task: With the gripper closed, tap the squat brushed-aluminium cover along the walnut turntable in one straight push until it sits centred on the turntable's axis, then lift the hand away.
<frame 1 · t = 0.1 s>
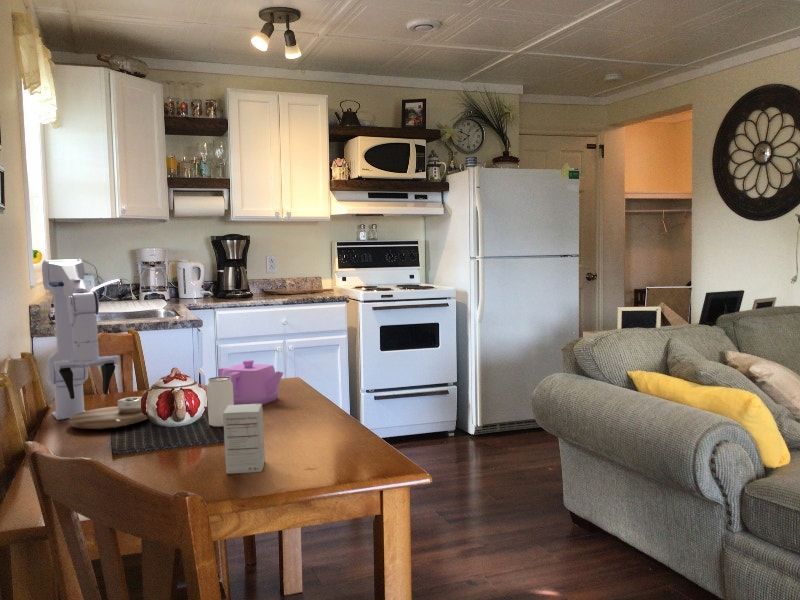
hand: (89, 396, 175), 10 cm above the table, tool pointing down, fingers open, 7 cm apart
teakettle: (252, 401, 211), on the table
supplement box: (246, 468, 147), on the table
turntable base: (111, 423, 188), on the table
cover: (132, 411, 191), point 2 cm above the table, touching turntable
can: (221, 424, 184), on the table
turntable: (110, 416, 188), point 2 cm above the table, hinge at 0.0°, touching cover
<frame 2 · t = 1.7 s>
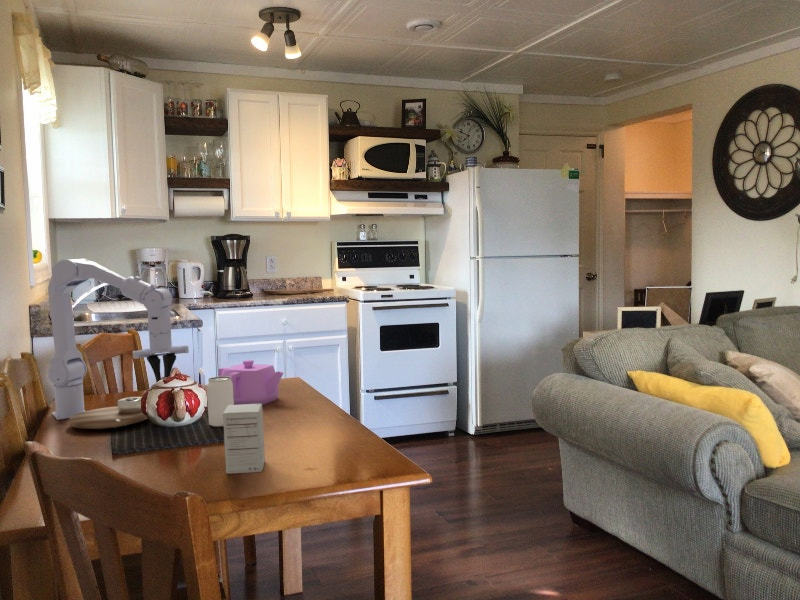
hand: (162, 381, 195), 9 cm above the table, tool pointing down, fingers closed
nothing on the table moved.
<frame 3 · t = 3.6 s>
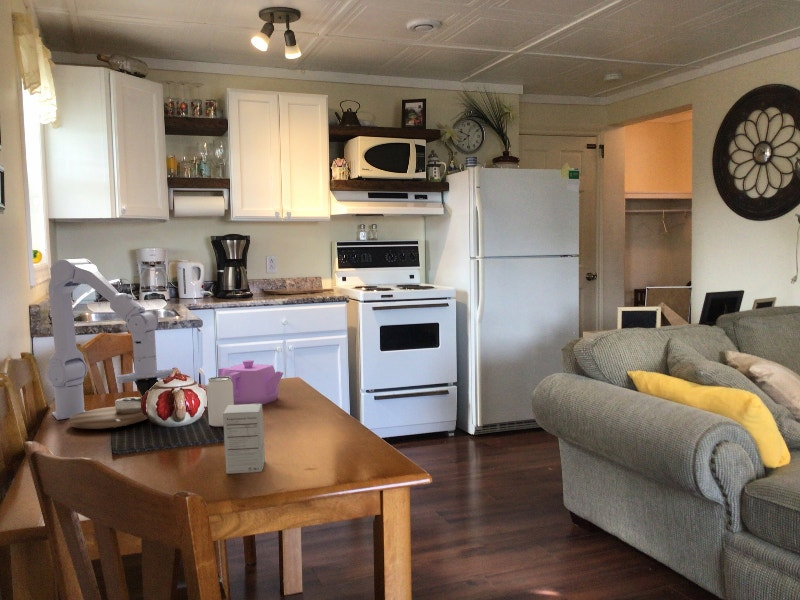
hand: (147, 406, 193), 3 cm above the table, tool pointing down, fingers closed
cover: (129, 411, 190), point 3 cm above the table, touching gripper
turntable: (110, 416, 188), point 2 cm above the table, hinge at 0.0°
everything else where it was.
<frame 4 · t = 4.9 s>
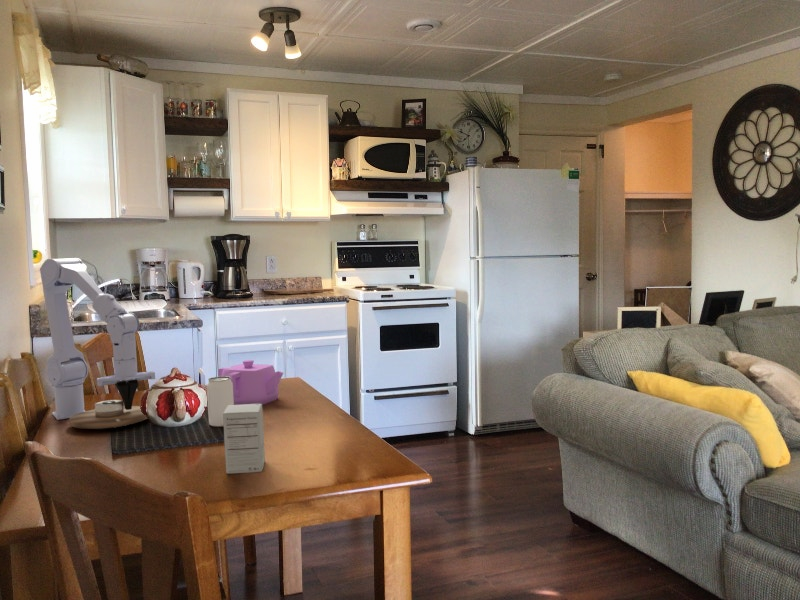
hand: (128, 408, 190), 3 cm above the table, tool pointing down, fingers closed
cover: (109, 414, 188), point 3 cm above the table, touching gripper, turntable
turntable: (110, 416, 188), point 2 cm above the table, hinge at 0.0°, touching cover
everything else where it was.
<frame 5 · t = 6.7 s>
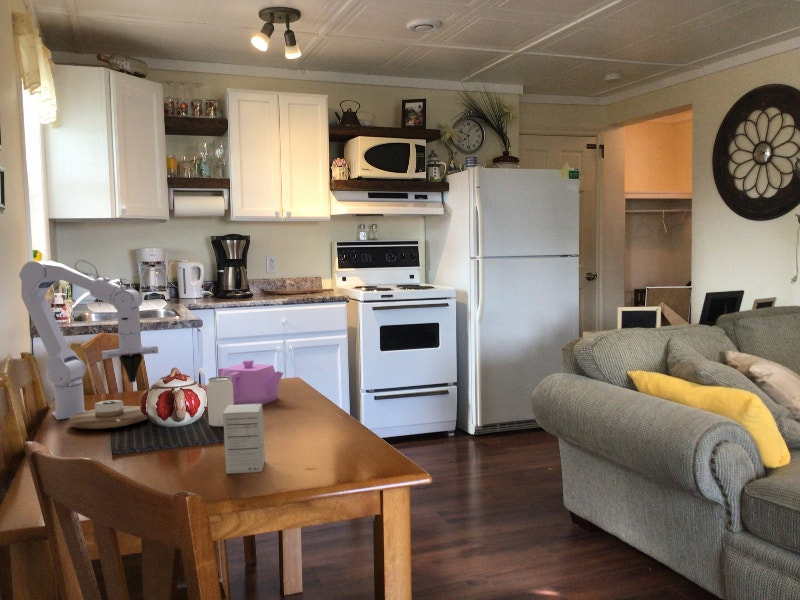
hand: (132, 381, 198), 9 cm above the table, tool pointing down, fingers closed
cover: (109, 414, 188), point 2 cm above the table, touching turntable
everything else where it was.
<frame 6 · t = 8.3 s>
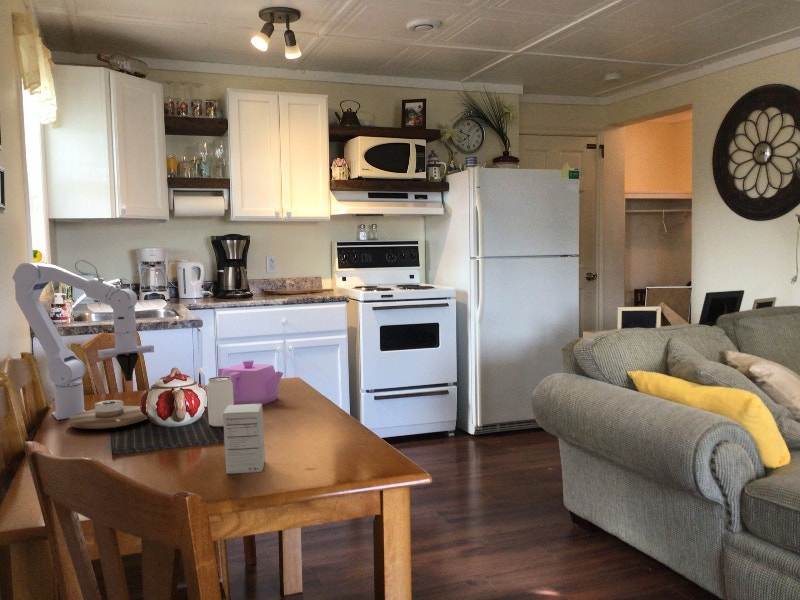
hand: (128, 380, 199), 9 cm above the table, tool pointing down, fingers closed
nothing on the table moved.
at the end: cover 0.3 cm from the turntable (horizontally); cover tilted 0°; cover touching turntable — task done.
